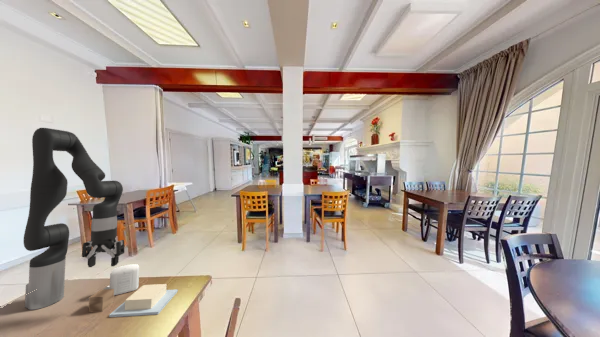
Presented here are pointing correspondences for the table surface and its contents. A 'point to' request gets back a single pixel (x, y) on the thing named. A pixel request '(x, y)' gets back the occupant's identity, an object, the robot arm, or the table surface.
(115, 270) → the photo printer
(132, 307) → the butter dish
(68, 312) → the table surface
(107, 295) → the walnut block
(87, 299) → the key chain
